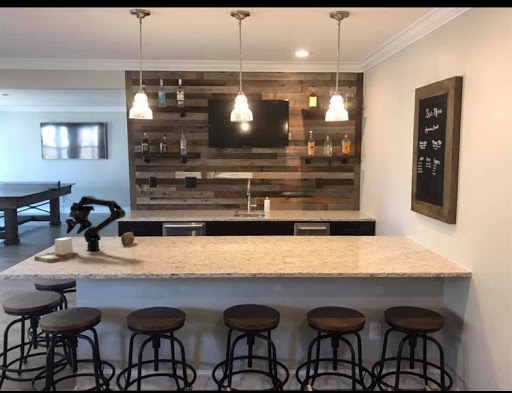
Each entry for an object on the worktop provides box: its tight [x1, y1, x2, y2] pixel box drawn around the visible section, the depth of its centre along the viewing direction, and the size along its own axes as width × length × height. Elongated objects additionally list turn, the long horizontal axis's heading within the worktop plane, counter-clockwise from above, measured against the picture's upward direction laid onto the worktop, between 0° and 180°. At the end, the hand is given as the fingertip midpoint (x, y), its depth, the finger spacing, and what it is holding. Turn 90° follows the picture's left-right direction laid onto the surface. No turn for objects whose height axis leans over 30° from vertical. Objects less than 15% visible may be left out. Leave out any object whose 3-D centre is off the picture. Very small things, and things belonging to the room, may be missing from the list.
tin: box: [120, 231, 135, 247], centre depth 311 cm, size 15×3×8 cm, turn 168°
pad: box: [38, 255, 56, 263], centre depth 263 cm, size 6×7×2 cm
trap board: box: [33, 251, 79, 263], centre depth 269 cm, size 20×15×2 cm
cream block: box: [54, 237, 74, 255], centre depth 273 cm, size 8×6×9 cm
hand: (72, 233), depth 279 cm, fingers open, 9 cm apart
